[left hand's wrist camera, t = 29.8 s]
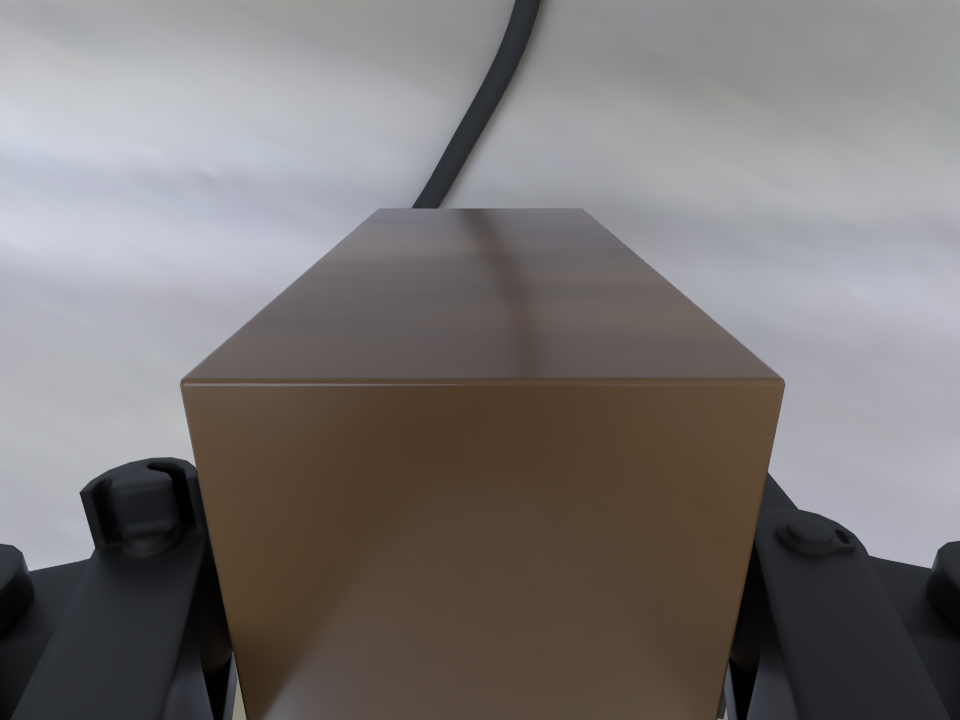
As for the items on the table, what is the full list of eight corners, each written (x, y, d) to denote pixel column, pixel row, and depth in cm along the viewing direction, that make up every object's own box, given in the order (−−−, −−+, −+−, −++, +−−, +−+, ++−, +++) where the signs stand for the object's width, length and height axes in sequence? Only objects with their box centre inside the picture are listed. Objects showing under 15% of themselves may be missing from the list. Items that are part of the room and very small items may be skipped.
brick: (583, 208, 15) (789, 380, 5) (567, 480, 18) (676, 931, 8) (377, 208, 15) (175, 380, 5) (394, 480, 18) (286, 931, 8)
